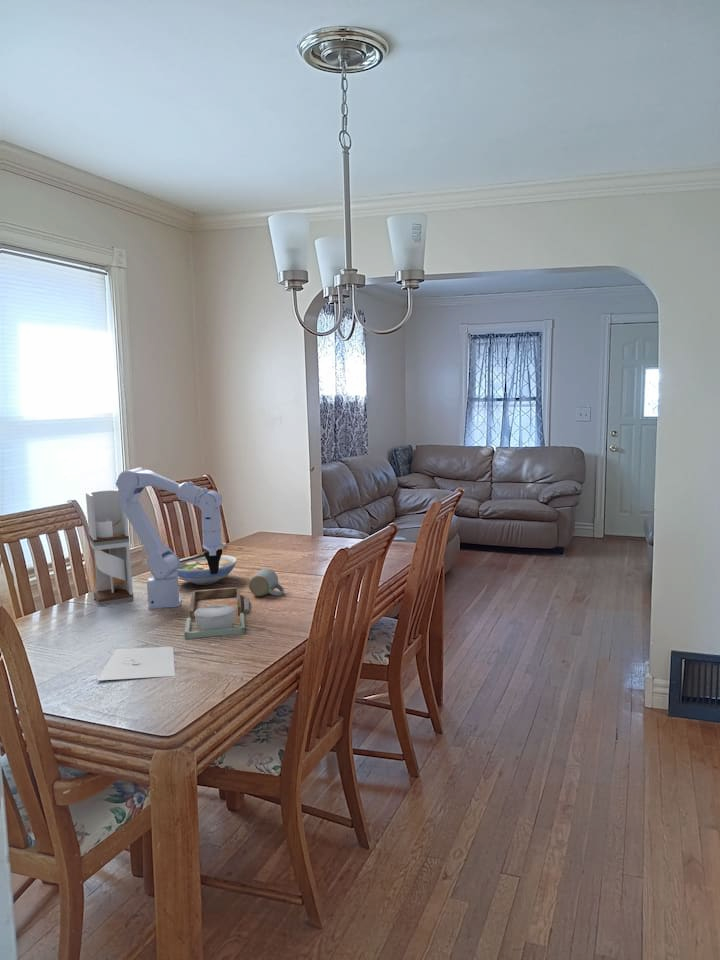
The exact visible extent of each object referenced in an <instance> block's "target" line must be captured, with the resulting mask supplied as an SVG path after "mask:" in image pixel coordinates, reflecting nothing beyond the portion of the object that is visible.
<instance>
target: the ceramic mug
mask: <svg viewBox="0 0 720 960" xmlns="http://www.w3.org/2000/svg"><path fill="white" fill-rule="evenodd" d="M248 589H249V590H250V592H251V594H252V595H254V596H255V597H265V596H266V595H268V594H270V595H273V596H277V597H280V596H283V594H284V591H285V588H284V587H283V586H282V585H281V584H279V577H278V574H277V573H276V572H275V571H274V570H272V569H271V568H262V569H260V570H259V571H258V572H257V573H255V574H254V575H253V576H252V577H251V579H250V580H249V583H248ZM275 589H278V591H276V590H275Z"/></svg>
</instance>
